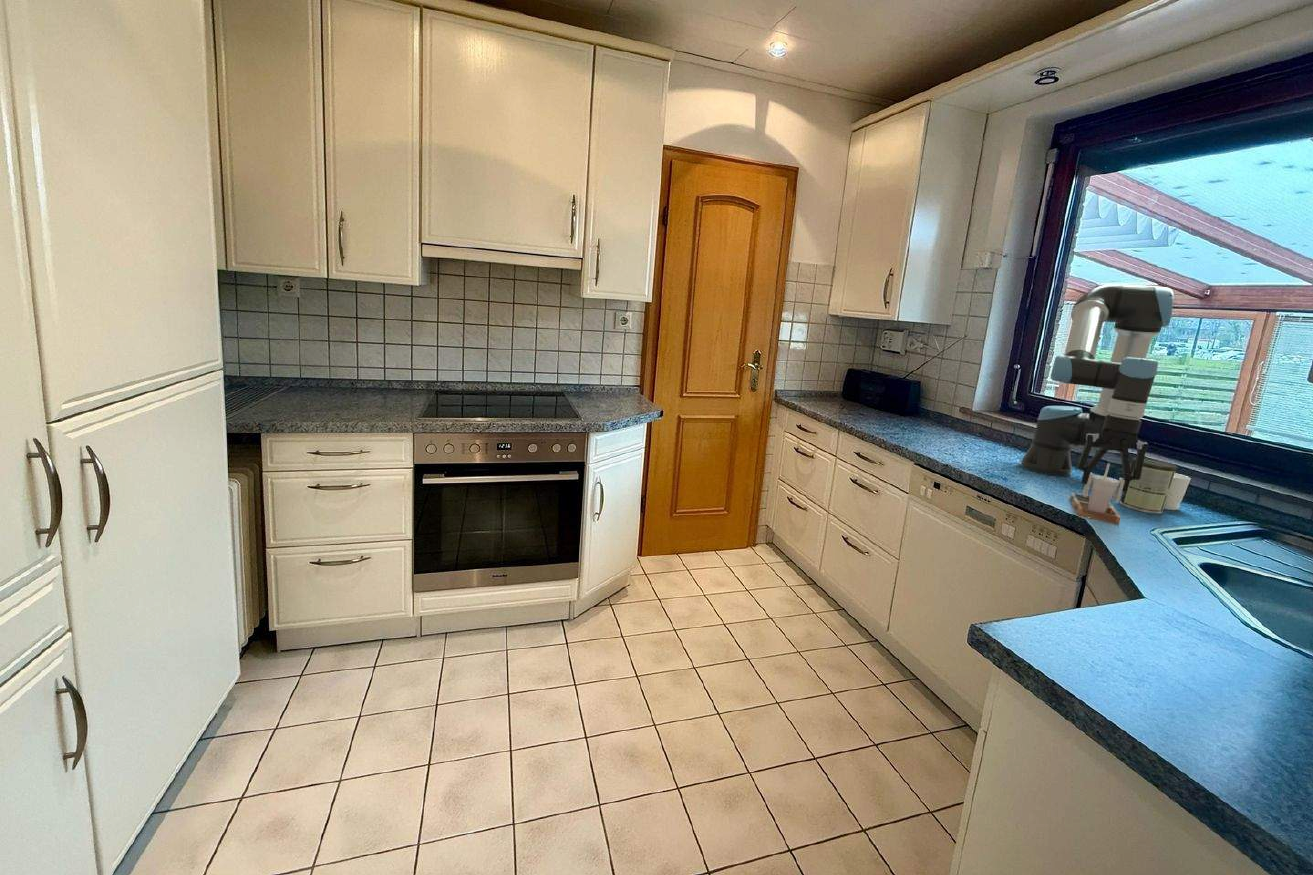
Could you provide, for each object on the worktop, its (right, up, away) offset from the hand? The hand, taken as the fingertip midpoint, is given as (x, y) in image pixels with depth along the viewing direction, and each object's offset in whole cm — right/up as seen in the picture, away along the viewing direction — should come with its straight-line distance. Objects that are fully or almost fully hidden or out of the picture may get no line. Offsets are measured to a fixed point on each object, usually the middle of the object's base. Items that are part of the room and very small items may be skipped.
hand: (1099, 498), depth 159 cm
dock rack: (+2, -4, +5) cm, 6 cm away
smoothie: (0, -4, +1) cm, 4 cm away
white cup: (+32, -4, +17) cm, 36 cm away
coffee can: (+22, -4, +13) cm, 26 cm away
